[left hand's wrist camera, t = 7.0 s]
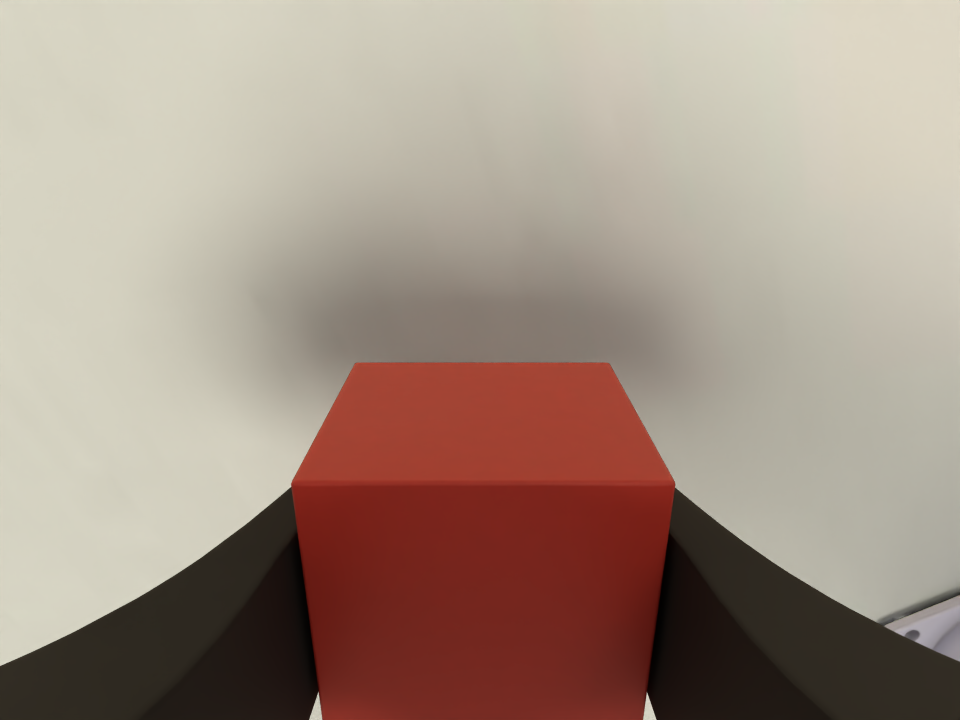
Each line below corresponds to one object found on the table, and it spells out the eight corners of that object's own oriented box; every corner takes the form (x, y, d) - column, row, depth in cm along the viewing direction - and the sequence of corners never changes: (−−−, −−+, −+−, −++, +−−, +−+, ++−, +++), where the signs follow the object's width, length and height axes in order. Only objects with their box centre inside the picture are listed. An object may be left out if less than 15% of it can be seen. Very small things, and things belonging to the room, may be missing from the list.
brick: (354, 361, 12) (288, 482, 8) (609, 361, 12) (677, 482, 8) (371, 567, 14) (325, 752, 9) (592, 567, 13) (640, 753, 9)
